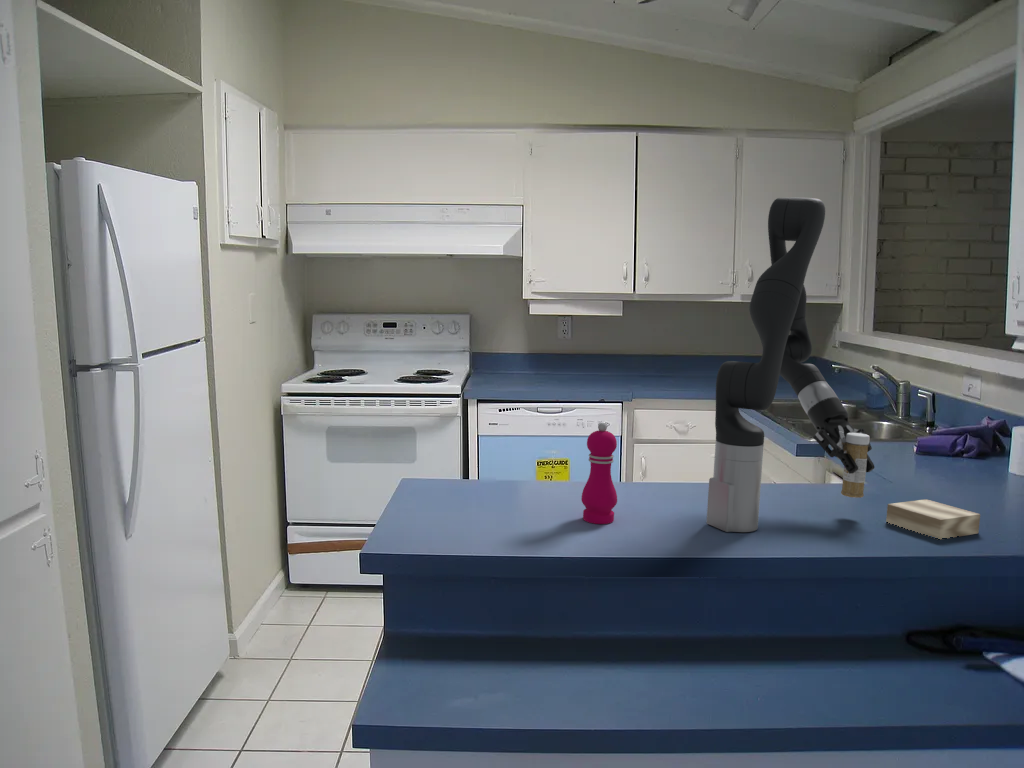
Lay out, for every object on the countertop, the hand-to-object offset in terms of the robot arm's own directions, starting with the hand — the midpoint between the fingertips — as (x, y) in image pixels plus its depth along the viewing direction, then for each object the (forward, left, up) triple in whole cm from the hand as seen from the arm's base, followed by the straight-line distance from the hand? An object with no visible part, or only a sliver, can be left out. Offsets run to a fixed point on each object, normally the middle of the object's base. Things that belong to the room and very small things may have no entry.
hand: (862, 470), depth 162 cm
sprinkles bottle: (0, +2, -6) cm, 6 cm away
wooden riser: (+9, -10, -10) cm, 17 cm away
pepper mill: (-54, +18, -11) cm, 58 cm away
